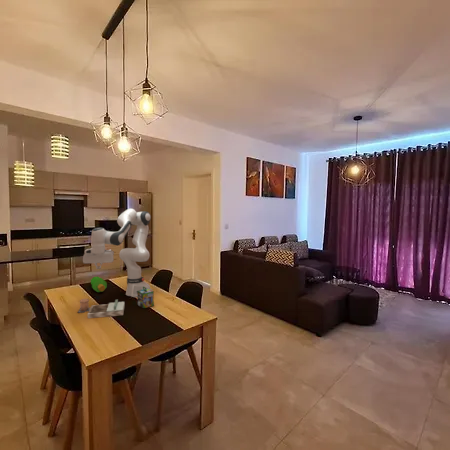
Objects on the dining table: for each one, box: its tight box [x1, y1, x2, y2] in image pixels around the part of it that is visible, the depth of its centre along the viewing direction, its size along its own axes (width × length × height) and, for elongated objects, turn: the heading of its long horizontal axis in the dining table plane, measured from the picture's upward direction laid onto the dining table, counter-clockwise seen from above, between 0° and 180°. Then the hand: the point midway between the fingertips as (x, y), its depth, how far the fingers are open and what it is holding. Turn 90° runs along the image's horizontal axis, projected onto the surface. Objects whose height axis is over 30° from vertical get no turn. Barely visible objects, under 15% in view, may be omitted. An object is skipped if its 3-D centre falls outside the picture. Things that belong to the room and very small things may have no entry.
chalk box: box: [137, 287, 155, 309], centre depth 201 cm, size 9×9×15 cm
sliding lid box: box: [87, 302, 125, 319], centre depth 186 cm, size 22×15×4 cm
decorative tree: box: [90, 276, 108, 293], centre depth 234 cm, size 11×12×30 cm
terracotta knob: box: [79, 298, 90, 312], centre depth 189 cm, size 6×6×7 cm
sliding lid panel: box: [106, 299, 125, 312], centre depth 188 cm, size 10×15×3 cm
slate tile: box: [77, 306, 91, 314], centre depth 189 cm, size 7×7×1 cm
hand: (98, 268), depth 193 cm, fingers closed
